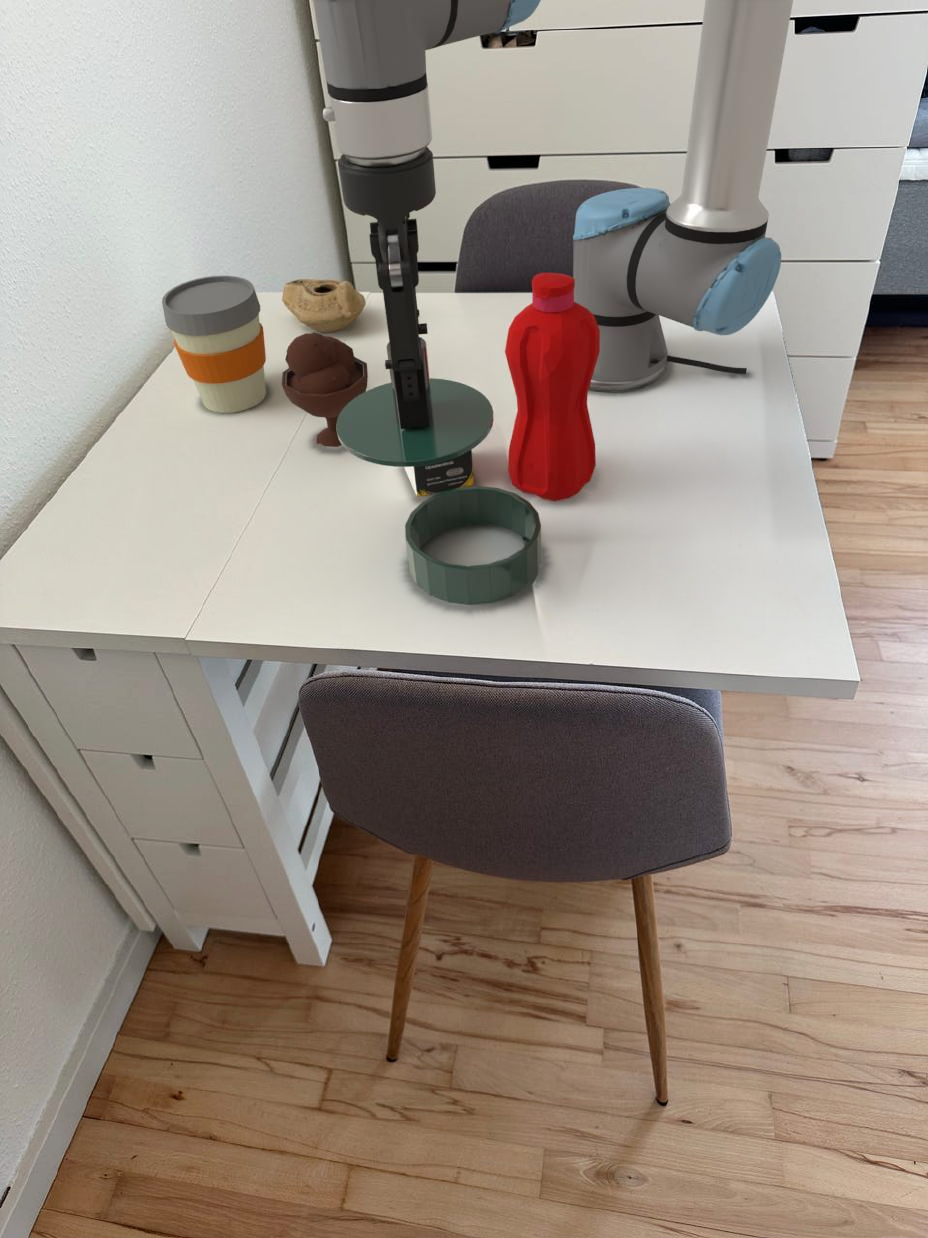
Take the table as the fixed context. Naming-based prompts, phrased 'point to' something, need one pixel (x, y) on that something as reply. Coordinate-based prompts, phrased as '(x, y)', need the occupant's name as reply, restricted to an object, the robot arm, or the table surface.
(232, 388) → the reusable coffee cup
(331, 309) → the oil lamp
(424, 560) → the pot
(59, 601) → the table surface
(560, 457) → the water bottle
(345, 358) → the ice cream bowl
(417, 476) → the medicine bottle
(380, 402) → the pot lid
